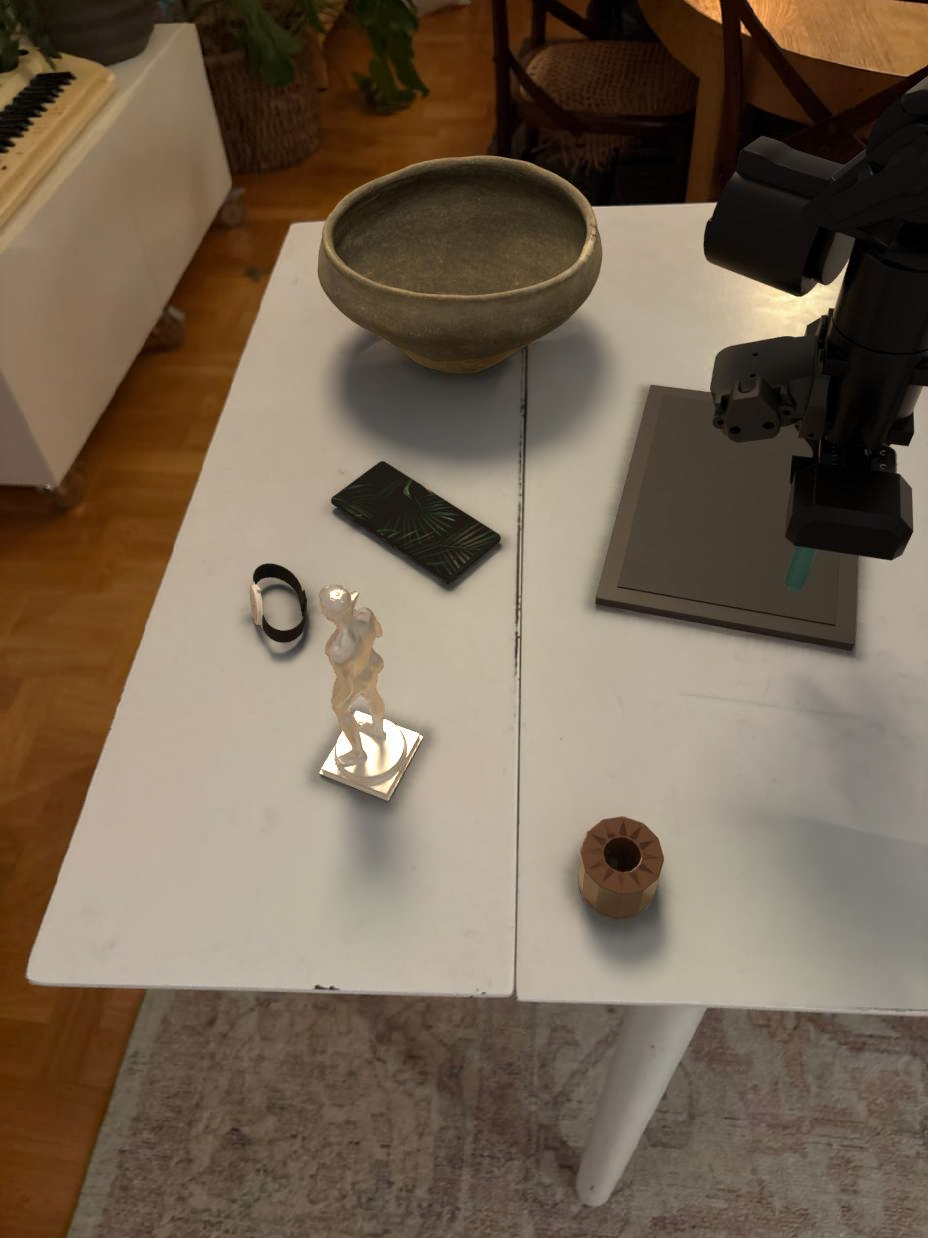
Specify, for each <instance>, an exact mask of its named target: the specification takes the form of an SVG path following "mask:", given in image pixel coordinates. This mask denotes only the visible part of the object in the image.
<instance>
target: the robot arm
mask: <svg viewBox="0 0 928 1238" xmlns="http://www.w3.org/2000/svg"><path fill="white" fill-rule="evenodd" d="M702 243H703V245H702V246H703V255H704V257H705V260H706V261H707V262H708V263H709V264H711V265H714V266H717V267H719V268H722V269H724V270H727V271H729V272H731V273H734V274H737V275H740V276H742V277H745V278H747V279H750V280H753V281H754V282H758V283H760V284H762V285H765V286H768V287H771V288H773V289H775V290H778V291H780V292H784V293H786V294H789V295H792V296H794V297H796V298H802V297H803V296H806V295H807V294H809V293H810V292H811V291H812V290H813V289H814V288H815V287H816V286H817V285H818V284H819V285H823V286H829V285H831V284H832V283H833V282H834V281H835V280H836V279H837V278H838V277H839V276H840V274H841V273H842V272H843V270H844V269H845V271H844V275H843V279H842V282H841V285H840V289H839V292H838V296H837V299H836V302H835V306H834V307H828V310H827V314H821V315H820V317H818V318H816V319H815V320H813V321H812V322H810V323H808V324H807V325H806V328H805V331H804V335H801V336H791V335H782V336H776V337H771V338H765V339H761V340H755V341H754V340H753V341H749V342H743V343H738V344H733V345H729V346H726V347H724V348H722V349H721V350H720V351H718V352H717V354H716V355H715V357H714V363H713V368H712V373H711V379H710V385H709V392H711V395H712V399H713V403H714V407H715V410H714V416H713V422H712V424H713V426H714V427H715V428H717V429H720V430H721V432H722V433H723V434H724V435H727V437H728V439H730V440H732V441H734V442H736V443H741V442H749V441H757V440H764V439H771V438H774V437H775V436H776V435H777V434H778V433H779V432H780V427H785V426H789V425H792V424H794V423H795V428H796V430H797V431H798V438H803V439H804V440H805V441H806V442H807V443H808V445H809V446H810V447H811V449H812V457H804V456H797V455H792V460H791V472H790V484H791V490H790V495H789V500H788V505H787V516H786V528H785V538H786V539H787V540H789V541H790V542H791V543H792V544H793V545H794V546H799V547H805V548H812V549H818V550H825V551H831V552H838V553H844V554H851V555H858V557H865V558H870V559H871V558H872V559H878V560H885V561H894V560H896V559H897V558H899V557H901V556H903V554H904V552H905V551H906V548H907V546H908V544H909V542H910V540H911V538H912V536H913V534H914V507H913V506H914V505H913V503H914V502H913V487H912V486H911V485H910V483H908V481H907V480H906V479H905V478H904V477H903V476H902V474H901V473H898V454H897V451H896V450H895V448H893V447H892V446H893V445H895V446H901V447H909V446H910V444H911V443H912V440H913V437H914V435H915V411H914V410H915V407H916V405H917V402H918V400H919V397H920V395H921V393H922V390H923V388H924V387H926V388H928V75H927V76H926V77H924V78H923V79H922V80H920V81H919V82H918V83H917V84H916V85H915V84H914V86H913V87H911V88H910V89H909V90H907V91H906V92H905V93H904V94H902V95H900V97H898V98H897V99H895V100H894V101H893V102H892V103H890V104H889V105H888V106H887V107H886V108H884V110H883V111H882V113H881V114H880V116H879V117H878V119H877V120H876V121H875V122H874V124H873V126H872V128H871V131H870V134H869V137H868V140H867V142H866V145H865V149H864V150H862V151H861V152H859V154H858V153H857V155H856V156H854V157H853V158H852V159H851V160H849V161H848V162H846V163H845V164H842V163H838V162H835V161H832V160H829V159H826V158H823V157H819V156H816V155H814V154H813V155H812V154H809V153H807V152H802V151H800V150H797V149H794V148H792V147H790V146H789V145H787V144H786V143H784V142H782V141H780V140H777V139H774V138H771V137H768V136H764V135H760V137H758V138H757V139H755V140H754V141H752V142H750V144H748V145H747V146H745V147H744V148H743V149H741V150H739V152H738V156H737V163H736V169H735V171H734V173H733V174H732V175H731V177H730V178H729V179H728V181H727V182H726V184H725V185H724V188H723V190H722V191H721V193H720V195H719V197H718V200H717V202H716V205H715V207H714V209H713V212H712V215H711V217H710V218H708V220H707V222H706V223H705V228H704V234H703V242H702ZM845 267H846V268H845Z"/></svg>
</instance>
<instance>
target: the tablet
mask: <svg viewBox="0 0 928 1238" xmlns="http://www.w3.org/2000/svg"><path fill="white" fill-rule="evenodd" d="M714 410H715V407H714V403H713V399H712V395H711V391H705V390H697V389H689V388H680V387H672V386H664V385H656V384H650V385H649V389H648V393H647V396H646V401H645V403H644V409H643V411H642V416H641V420H640V425H639V428H638V431H637V435H636V439H635V444H634V447H633V451H632V455H631V460H630V463H629V467H628V471H627V475H626V479H625V482H624V486H623V490H622V494H621V497H620V502H619V505H618V510H617V513H616V518H615V521H614V525H613V527H612V528H613V529H612V531H611V532H612V533H611V538H610V539H609V540H610V541H609V544H608V548H607V552H606V556H605V559H604V564H603V567H602V572H601V576H600V579H599V583H598V586H597V591H596V595H595V601H594V604H595V605H596V606H603V607H608V608H613V609H618V610H625V611H630V612H634V613H635V612H636V613H640V614H647V615H651V616H656V617H662V618H668V619H674V620H677V621H678V620H679V621H684V622H690V623H696V624H701V625H706V626H712V627H715V628H716V627H717V628H723V629H728V630H733V631H738V632H745V633H750V634H755V635H760V636H766V637H772V638H777V639H782V640H788V641H789V640H790V641H793V642H794V641H795V642H799V643H805V644H810V645H816V646H821V647H827V648H831V649H832V648H833V649H836V650H837V649H838V650H843V651H850V652H852V651H853V649H854V647H855V645H856V625H857V623H856V621H857V597H858V596H857V593H858V570H859V569H858V567H859V556H858V555H851V554H844V553H838V552H831V551H825V550H818V551H817V553H816V556H815V559H814V561H813V564H812V567H811V570H810V572H809V575H808V578H807V580H806V583H805V586H804V587H803V588H802V589H801V590H799V591H791V590H789V589H788V588H787V587H786V585H785V578H786V575H787V572H788V569H789V566H790V564H791V561H792V558H793V555H794V552H795V549H796V546H794V545H793V544H792V543H791V542H790V541H789V540H787V539H786V538H785V528H786V516H787V505H788V500H789V495H790V490H791V484H790V472H791V460H792V455H797V456H804V457H812V449H811V447H810V446H809V445H808V443H807V442H806V441H805V440H804V439H803V438H798V431H797V430H796V428H795V423H794V424H792V425H789V426H785V427H780V432H779V433H778V434H777V435H776V436H775V437H774V438H771V439H764V440H757V441H749V442H741V443H736V442H734V441H732V440H730V439H728V437H727V435H724V434H723V433H722V432H721V430H720V429H717V428H715V427H714V426H713V424H712V422H713V416H714Z"/></svg>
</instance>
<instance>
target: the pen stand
mask: <svg viewBox="0 0 928 1238" xmlns="http://www.w3.org/2000/svg"><path fill="white" fill-rule="evenodd" d="M664 863H665V856H664V853H663V849H662V845H661V842H660V839H659V837H658V836H657V835H656V834H655V833H654V832H653V831H652V830H651V829H650V827H648V826H647V825H646V824H645V823H644V822H640V821H639V820H635V819H633V818H630V817H627V816H623V815H622V816H615V817H609V818H603V819H601V820H600V821H598V822H597V823H596V824H595V825H593V826H592V827H591V828H589V830H587V831H586V833H585V836H584V839H583V841H582V845H581V847H580V851H579V861H578V872H577V878H578V886H579V890H580V893H581V896H582V897H583V898H582V899H584V901H585V902H586V904H587V905H588V907H590V908H591V909H592V910H593V911H595V912H596V913H597V914H599V915H601V916H603V917H606V918H609V919H613V920H627V919H632V918H634V917H636V916H639V915H641V914H642V913H644V911H645V910H647V909H648V908H649V906H650V905H651V903H652V902H653V900H654V897H655V894H656V890H657V887H658V884H659V880H660V876H661V872H662V870H663V869H662V868H663V865H664Z"/></svg>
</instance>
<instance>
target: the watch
mask: <svg viewBox="0 0 928 1238" xmlns="http://www.w3.org/2000/svg"><path fill="white" fill-rule="evenodd" d="M270 578H271V579H277V580H280V581H282V582H285V583H286V584H288V586H289V587H290V588H292V589H293V591H294V592H295V594H296V596H297V598H298V602H299V605H300V612H301V616H302V620H300V622H299V623H298V624H297V625H296V626H294V627H292V628H290V629H283V630H282V629H279V628H275V627H274V626H272V625H270V624H269V623H268V621H267V620H266V617H265V614H264V613H265V612H264V604H263V599H262V597H263V596H262V593H261V588H260V587H259V585H258V583H259V582H260V581H262V580H263V579H270ZM249 601H250V610H251V615H252V618H253V623H254V624H255V625H257V626H258V625H259V626H260V627H261V630H263V632H264V633H265V635H266V636H267V637H268V638H269V639H270V640H272V641H274V642H276V643H281V644H286V643H287V644H288V643H291V642H293V641H295V640H296V639H299V637H300V636H301V635H302V633H303V632H304V630H305V627H306V620H307V619H306V618H307V609H308V608H307V607H308V597H307V594H306V590H305V589H303V588H302V585H301V582H300V581H299V579H298V578H297V576H296V575H295V574H294V572H292V571H291V570H290V569H288V568H287V567H285V566H282V565H280V564H278V563H271V562H270V563H268V562H267V563H262V564H260V565H259V566H257V567H256V568H255V569H254V571H253V574H252V585H250V586H249Z"/></svg>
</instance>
